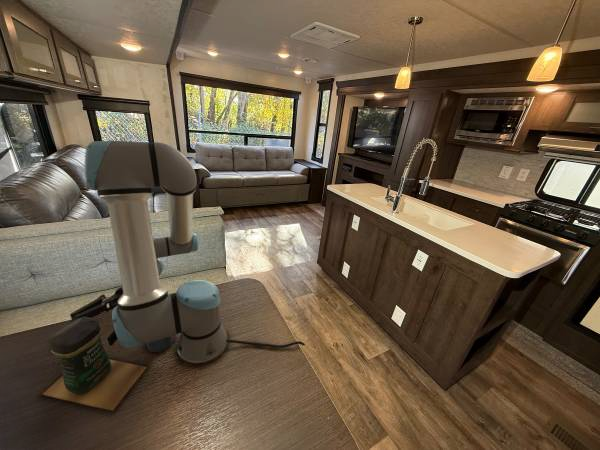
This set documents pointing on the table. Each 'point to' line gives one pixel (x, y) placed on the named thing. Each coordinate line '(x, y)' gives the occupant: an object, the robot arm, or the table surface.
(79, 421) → the table surface
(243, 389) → the table surface
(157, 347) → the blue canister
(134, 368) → the cork mat
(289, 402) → the table surface
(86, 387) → the coffee jar
